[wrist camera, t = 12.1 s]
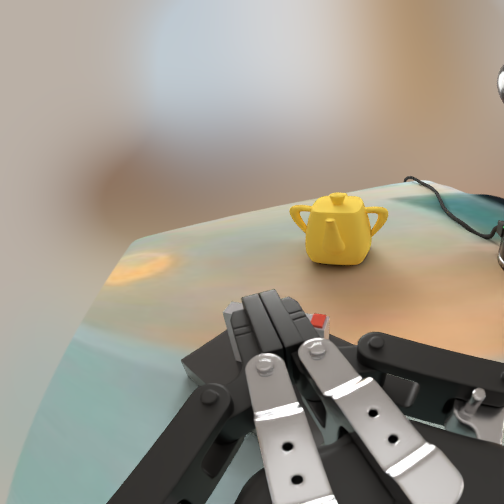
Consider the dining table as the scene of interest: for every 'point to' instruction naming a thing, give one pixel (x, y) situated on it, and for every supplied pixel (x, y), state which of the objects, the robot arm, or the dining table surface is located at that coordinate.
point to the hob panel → (235, 370)
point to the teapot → (338, 228)
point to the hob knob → (317, 320)
